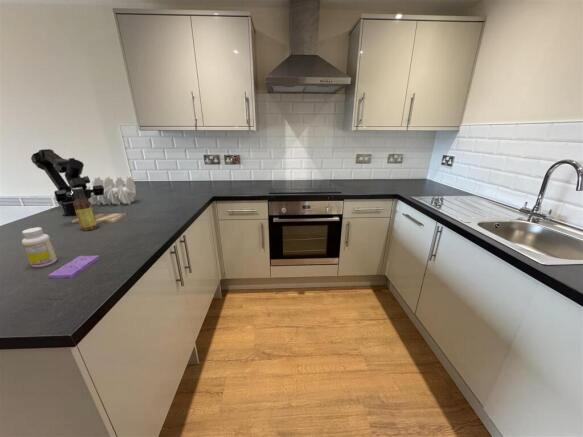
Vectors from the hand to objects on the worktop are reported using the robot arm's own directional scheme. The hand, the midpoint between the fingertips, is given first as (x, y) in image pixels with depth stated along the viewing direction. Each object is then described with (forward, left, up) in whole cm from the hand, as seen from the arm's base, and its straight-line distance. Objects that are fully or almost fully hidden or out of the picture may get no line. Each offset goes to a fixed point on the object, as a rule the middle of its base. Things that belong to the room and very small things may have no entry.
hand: (87, 206), depth 119 cm
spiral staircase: (-10, +36, -9) cm, 39 cm away
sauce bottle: (+3, -7, -9) cm, 12 cm away
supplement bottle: (+10, -40, -9) cm, 42 cm away
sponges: (+24, -44, -10) cm, 51 cm away
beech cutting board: (-1, +7, -9) cm, 12 cm away
